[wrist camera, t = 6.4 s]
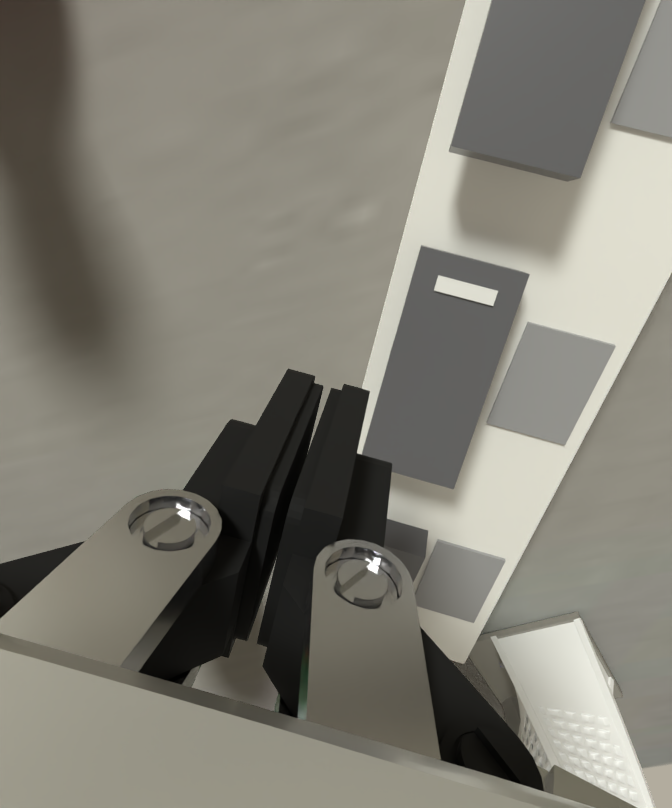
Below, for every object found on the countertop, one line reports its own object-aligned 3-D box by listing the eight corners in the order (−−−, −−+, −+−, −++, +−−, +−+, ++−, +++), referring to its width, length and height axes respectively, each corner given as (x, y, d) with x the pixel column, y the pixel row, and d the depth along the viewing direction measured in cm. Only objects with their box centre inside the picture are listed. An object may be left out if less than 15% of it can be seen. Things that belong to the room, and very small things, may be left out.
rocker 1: (386, 615, 29) (380, 651, 27) (320, 595, 29) (310, 630, 27) (429, 521, 24) (425, 559, 22) (348, 498, 24) (338, 534, 22)
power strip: (462, 611, 32) (464, 666, 29) (315, 567, 33) (300, 617, 30) (833, -144, 16) (929, -207, 13) (524, -209, 16) (542, -285, 13)
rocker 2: (563, 182, 17) (581, 177, 15) (447, 153, 17) (451, 145, 15) (681, -148, 14) (721, -205, 12) (541, -178, 14) (560, -238, 12)
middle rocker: (450, 468, 22) (454, 490, 20) (364, 444, 22) (359, 463, 20) (519, 270, 20) (530, 274, 18) (420, 244, 20) (421, 246, 18)
